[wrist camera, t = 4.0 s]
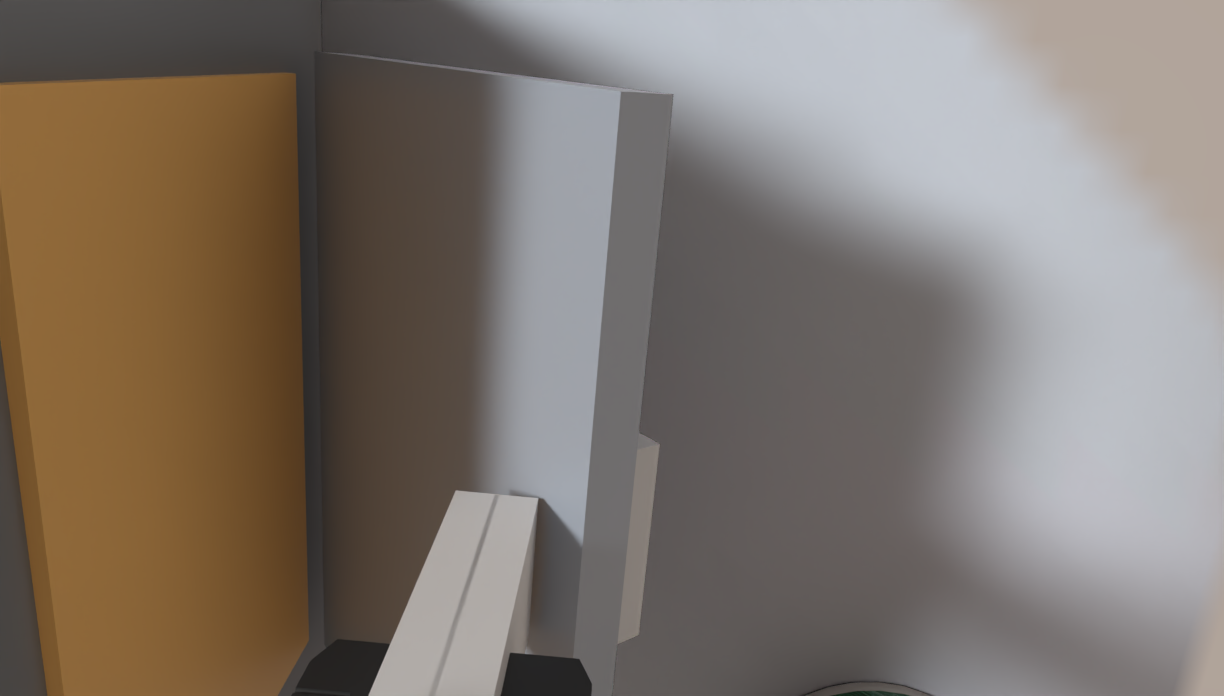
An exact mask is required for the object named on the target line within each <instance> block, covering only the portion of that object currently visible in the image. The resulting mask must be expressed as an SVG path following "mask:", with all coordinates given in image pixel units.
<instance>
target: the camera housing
mask: <svg viewBox="0 0 1224 696" xmlns="http://www.w3.org/2000/svg"><path fill="white" fill-rule="evenodd" d="M314 51H317V52H322V30H321V0H0V696H291V695H292V693H295V690H296V686H297V684H298V682H299V680H300V679H301V677H302V675H303V673H304V671H305V670H306V668H307V666H308V664H309V662H310V661H311V660H312V659H313V658H314V657H316V656H317V655H318V654H319V653H321V652H322V651H323V650H324V649H326V647H325V645H324V596H323V538H322V480H321V421H320V363H319V305H318V247H317V188H316V130H315V72H314Z"/></svg>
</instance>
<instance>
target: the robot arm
mask: <svg viewBox="0 0 1224 696" xmlns="http://www.w3.org/2000/svg"><path fill="white" fill-rule="evenodd" d="M537 511H538V498H532V497H521V496H510V495H499V494H489V493H478V492H467V491H455V493H454V496H453V498H452V500H451V503H450V505H449V508H448V510H447V512H446V515H445V517H444V519H443V522H442V524H441V526H440V529H439V531H438V533H437V536H436V538H435V540H434V543H433V545H432V547H431V550H430V552H429V554H428V557H427V559H426V562H425V564H424V566H423V569H422V571H421V573H420V576H419V578H418V580H417V583H416V585H415V587H414V590H413V592H412V594H411V597H410V599H409V601H408V604H407V606H406V608H405V611H404V613H403V616H402V618H401V620H400V623H399V625H398V627H397V630H396V632H395V634H394V637H393V639H392V641H391V644H387V643H376V642H365V641H354V640H343V639H337V640H336V641H334V642H333V643H332V644H331V645H329V646H328V647H327V648H326V649H324V650H323V651H322V652H321V653H319V654H318V655H317V656H316V657H314V658H313V659H312V660H311V661H310V662H309V664H308V666H307V668H306V670H305V671H304V673H303V675H302V677H301V679H300V680H299V682H298V684H297V686H296V690H295V693H292V695H291V696H591V694H592V683H591V681H590V679H589V677H588V675H587V673H586V671H585V669H584V667H583V665H582V663H581V661H580V659H576V658H565V657H554V656H543V655H532V654H525V651H526V646H527V640H528V635H529V625H530V610H531V596H532V582H533V568H534V553H535V539H536V525H537Z"/></svg>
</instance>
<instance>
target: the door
mask: <svg viewBox="0 0 1224 696" xmlns="http://www.w3.org/2000/svg"><path fill="white" fill-rule="evenodd" d="M314 72H315V130H316V188H317V247H318V305H319V363H320V421H321V480H322V538H323V596H324V645H325V647H326V648H327V647H328V646H329V645H331V644H332V643H333V642H334V641H336V640H337V639H343V640H354V641H365V642H376V643H387V644H391V641H392V639H393V637H394V634H395V632H396V630H397V627H398V625H399V623H400V620H401V618H402V616H403V613H404V611H405V608H406V606H407V604H408V601H409V599H410V597H411V594H412V592H413V590H414V587H415V585H416V583H417V580H418V578H419V576H420V573H421V571H422V569H423V566H424V564H425V562H426V559H427V557H428V554H429V552H430V550H431V547H432V545H433V543H434V540H435V538H436V536H437V533H438V531H439V529H440V526H441V524H442V522H443V519H444V517H445V515H446V512H447V510H448V508H449V505H450V503H451V500H452V498H453V496H454V493H455V491H467V492H478V493H489V494H499V495H510V496H521V497H532V498H538V511H537V525H536V539H535V553H534V568H533V582H532V596H531V610H530V625H529V635H528V640H527V646H526V651H525V654H532V655H543V656H554V657H565V658H576V659H580V661H581V663H582V665H583V667H584V669H585V671H586V673H587V675H588V677H589V679H590V681H591V683H592V694H591V696H612V692H613V683H614V673H615V663H616V653H617V644H620V643H622V642H624V641H627V640H629V639H631V638H633V637H636V636H638V635H639V629H640V620H641V611H642V602H643V593H644V583H645V574H646V565H647V556H648V547H649V538H650V529H651V520H652V511H653V502H654V493H655V484H656V474H657V465H658V456H659V447H660V444H659V443H657V442H655V441H654V440H652V439H650V438H648V437H646V436H645V435H643V434H641V433H639V427H640V417H641V408H642V398H643V388H644V378H645V368H646V359H647V349H648V339H649V329H650V319H651V309H652V300H653V290H654V280H655V270H656V260H657V251H658V241H659V231H660V221H661V211H662V201H663V192H664V182H665V172H666V162H667V152H668V142H669V133H670V123H671V113H672V103H673V94H665V93H657V92H650V91H642V90H634V89H626V88H618V87H610V86H602V85H594V84H586V83H578V82H570V81H562V80H555V79H547V78H539V77H531V76H523V75H515V74H507V73H499V72H491V71H483V70H475V69H468V68H460V67H452V66H444V65H436V64H428V63H420V62H412V61H404V60H396V59H388V58H380V57H373V56H365V55H357V54H344V53H330V52H317V51H314Z"/></svg>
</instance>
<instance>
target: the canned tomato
mask: <svg viewBox="0 0 1224 696" xmlns="http://www.w3.org/2000/svg"><path fill="white" fill-rule="evenodd" d="M805 696H929V695H928V694H926V693H923V692H920V691H917V690H914V689H911V688H908V687H905V686H901V685H894V684H887V683H880V682H862V683H848V684H843V685H837V686H832V687H827V688H824V689H822V690H819V691H816V692H813V693H810V694H808V695H805Z"/></svg>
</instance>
